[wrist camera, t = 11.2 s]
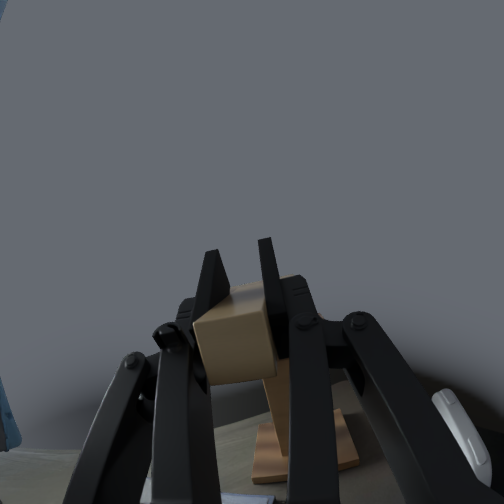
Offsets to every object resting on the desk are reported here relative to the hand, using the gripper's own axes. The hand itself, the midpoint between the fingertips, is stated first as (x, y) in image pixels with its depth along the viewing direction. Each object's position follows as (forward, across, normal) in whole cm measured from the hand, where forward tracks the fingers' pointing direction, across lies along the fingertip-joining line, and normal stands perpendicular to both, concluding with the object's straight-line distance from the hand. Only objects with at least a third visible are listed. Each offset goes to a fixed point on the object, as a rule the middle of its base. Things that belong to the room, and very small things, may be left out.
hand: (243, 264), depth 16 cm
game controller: (-12, +18, -26) cm, 34 cm away
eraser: (0, 0, -6) cm, 6 cm away
